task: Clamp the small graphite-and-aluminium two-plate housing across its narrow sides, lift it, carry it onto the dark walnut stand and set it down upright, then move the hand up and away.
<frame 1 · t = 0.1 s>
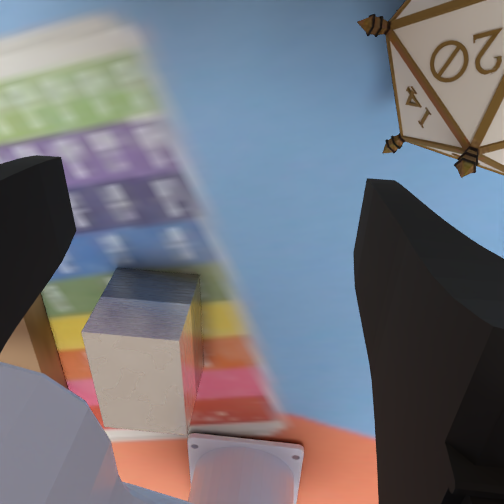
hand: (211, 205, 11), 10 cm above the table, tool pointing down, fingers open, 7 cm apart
housing: (163, 318, 28), on the table
game die: (475, 27, 18), on the table
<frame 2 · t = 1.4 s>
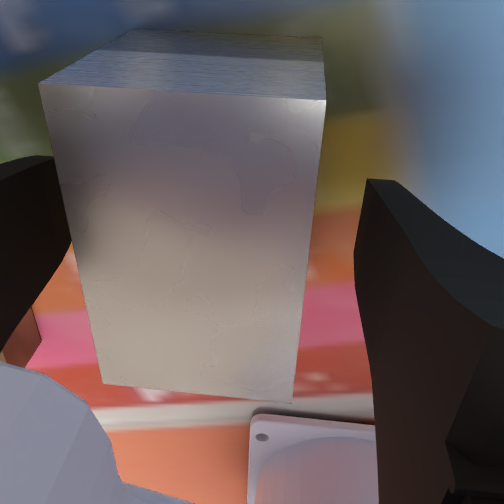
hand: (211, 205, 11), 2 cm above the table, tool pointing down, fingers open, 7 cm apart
housing: (227, 167, 13), on the table
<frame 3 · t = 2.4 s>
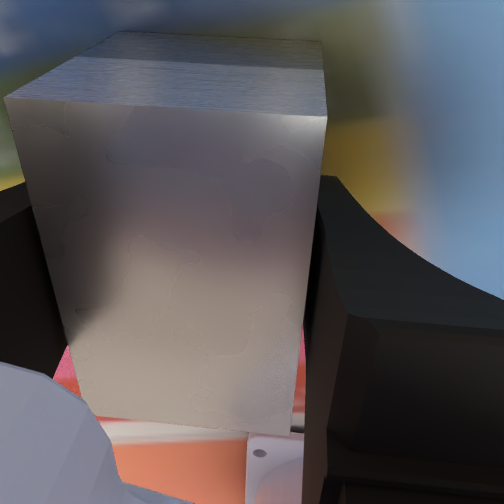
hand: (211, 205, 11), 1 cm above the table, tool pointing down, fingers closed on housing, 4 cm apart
housing: (220, 179, 13), on the table, touching gripper
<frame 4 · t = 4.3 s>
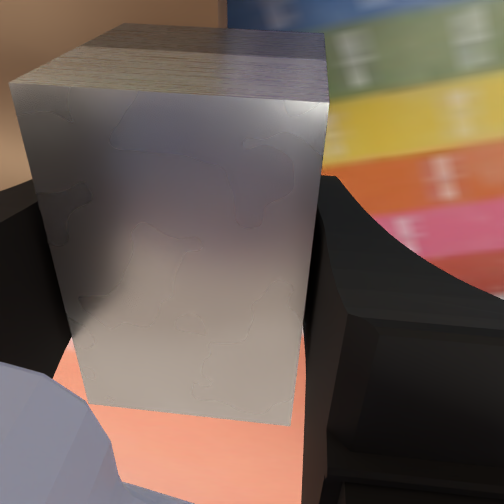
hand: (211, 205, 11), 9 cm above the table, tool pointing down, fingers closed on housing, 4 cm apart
housing: (223, 172, 13), point 7 cm above the table, touching gripper
walnut stand: (104, 86, 19), on the table
when the fingers open (4 cm above the table, at t = 6.4 s): housing stays where it is, resting on walnut stand.
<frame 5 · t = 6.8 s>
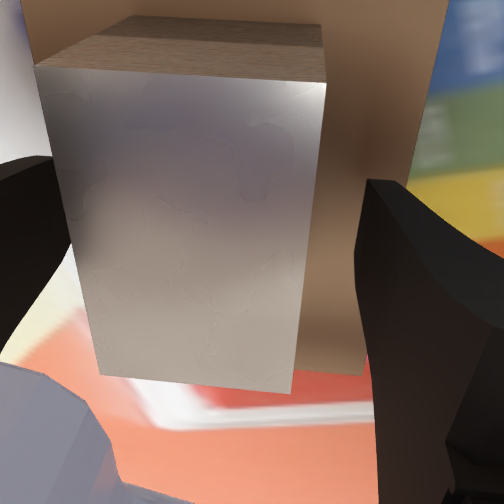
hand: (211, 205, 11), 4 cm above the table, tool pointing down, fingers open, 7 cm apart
housing: (225, 158, 13), point 2 cm above the table, touching walnut stand
walnut stand: (235, 138, 15), on the table
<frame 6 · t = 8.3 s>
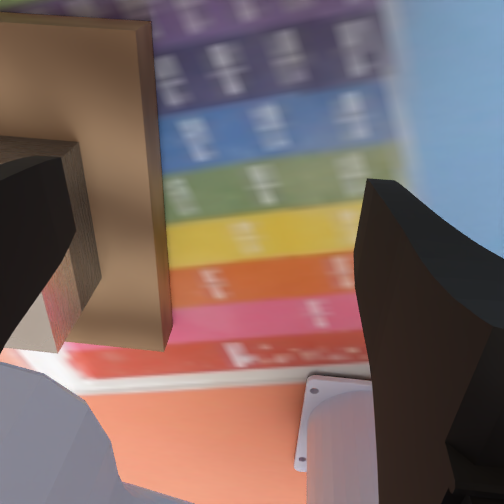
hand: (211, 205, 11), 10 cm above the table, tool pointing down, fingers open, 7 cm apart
housing: (42, 211, 22), point 2 cm above the table, touching walnut stand
walnut stand: (62, 195, 23), on the table
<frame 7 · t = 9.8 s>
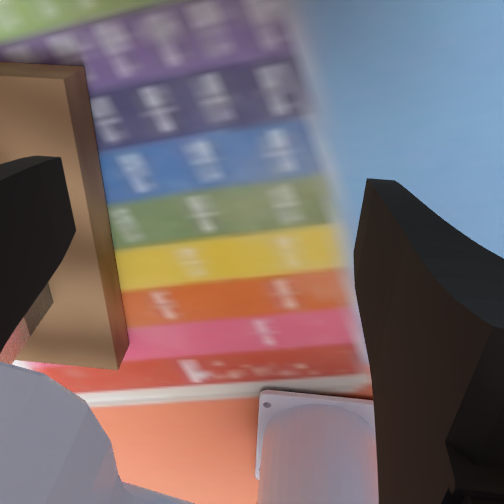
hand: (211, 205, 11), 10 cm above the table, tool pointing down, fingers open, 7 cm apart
walnut stand: (15, 223, 25), on the table
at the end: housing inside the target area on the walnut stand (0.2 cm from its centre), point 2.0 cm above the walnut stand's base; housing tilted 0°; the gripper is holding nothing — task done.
